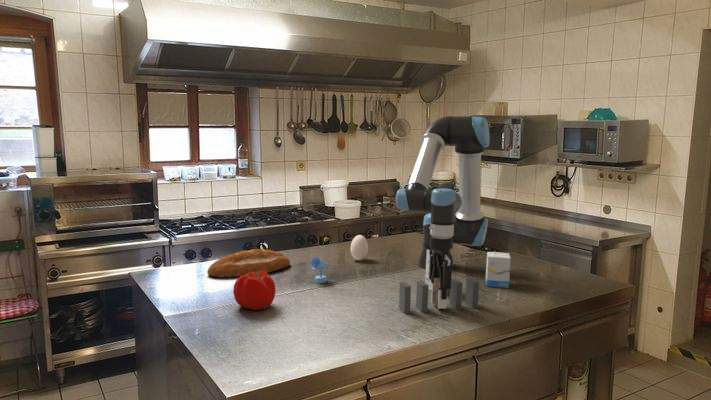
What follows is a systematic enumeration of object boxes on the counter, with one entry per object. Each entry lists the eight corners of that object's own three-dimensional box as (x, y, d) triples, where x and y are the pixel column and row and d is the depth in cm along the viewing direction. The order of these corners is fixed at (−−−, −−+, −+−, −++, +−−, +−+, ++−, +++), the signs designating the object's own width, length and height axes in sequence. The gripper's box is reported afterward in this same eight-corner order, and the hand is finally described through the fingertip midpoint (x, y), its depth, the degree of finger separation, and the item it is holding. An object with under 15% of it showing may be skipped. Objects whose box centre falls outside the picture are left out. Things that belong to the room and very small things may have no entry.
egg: (371, 259, 233) (372, 234, 231) (362, 263, 226) (362, 237, 225) (356, 257, 237) (356, 232, 236) (346, 260, 231) (347, 235, 229)
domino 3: (449, 304, 177) (450, 278, 176) (454, 304, 177) (455, 278, 176) (455, 309, 172) (456, 283, 171) (461, 309, 173) (462, 282, 171)
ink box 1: (448, 292, 190) (450, 253, 187) (437, 294, 187) (439, 254, 185) (435, 285, 197) (437, 247, 195) (424, 287, 195) (425, 249, 193)
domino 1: (399, 308, 172) (399, 282, 171) (404, 308, 173) (405, 281, 172) (404, 313, 168) (405, 286, 166) (410, 313, 168) (410, 286, 167)
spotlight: (317, 284, 196) (330, 281, 201) (317, 258, 195) (331, 255, 199) (308, 281, 200) (322, 278, 204) (308, 256, 198) (322, 253, 203)
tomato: (257, 317, 162) (256, 281, 161) (224, 308, 170) (223, 273, 168) (284, 305, 174) (284, 271, 172) (253, 297, 181) (252, 264, 179)
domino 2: (416, 307, 174) (416, 281, 173) (421, 306, 174) (422, 280, 173) (421, 312, 169) (422, 285, 168) (427, 312, 170) (428, 285, 168)
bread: (201, 272, 211) (200, 250, 210) (281, 260, 230) (281, 241, 229) (214, 283, 197) (213, 260, 195) (299, 270, 215) (299, 249, 214)
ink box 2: (509, 288, 196) (511, 257, 194) (486, 286, 197) (487, 256, 196) (507, 281, 204) (509, 252, 202) (485, 279, 206) (486, 251, 204)
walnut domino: (433, 303, 175) (433, 277, 174) (438, 303, 176) (439, 277, 174) (439, 308, 170) (440, 282, 169) (444, 308, 171) (445, 281, 170)
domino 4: (465, 303, 178) (466, 277, 177) (470, 302, 179) (472, 277, 178) (472, 308, 174) (473, 282, 172) (477, 307, 174) (479, 281, 173)
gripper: (420, 231, 177) (418, 297, 181) (442, 242, 160) (439, 315, 163) (440, 230, 179) (438, 295, 183) (464, 241, 162) (461, 313, 165)
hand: (438, 305), depth 173 cm, fingers closed on walnut domino, 5 cm apart
